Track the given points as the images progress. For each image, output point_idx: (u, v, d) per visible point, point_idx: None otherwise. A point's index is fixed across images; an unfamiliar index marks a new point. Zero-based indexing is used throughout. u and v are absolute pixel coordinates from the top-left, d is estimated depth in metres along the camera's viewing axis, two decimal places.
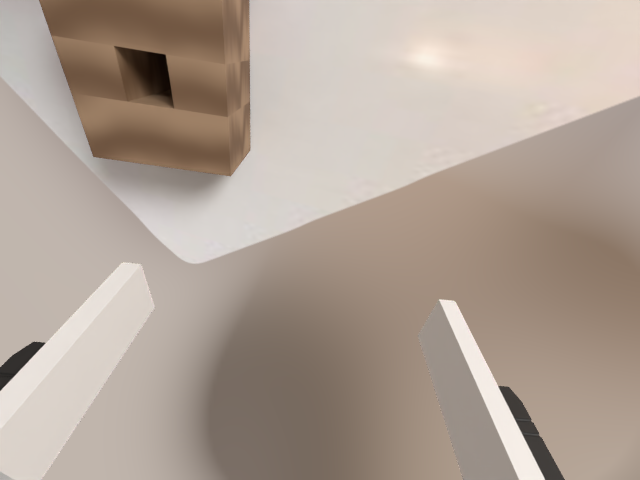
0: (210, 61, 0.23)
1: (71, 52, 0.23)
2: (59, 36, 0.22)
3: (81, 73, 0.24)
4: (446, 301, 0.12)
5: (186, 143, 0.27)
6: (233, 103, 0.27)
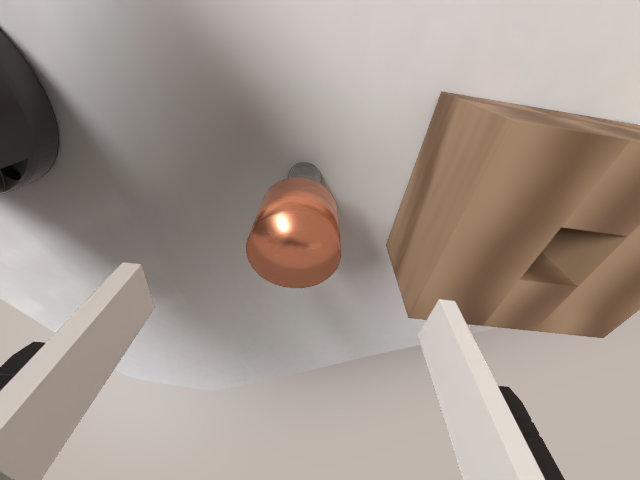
0: (610, 164, 0.13)
1: (503, 316, 0.20)
2: (486, 320, 0.20)
3: (524, 316, 0.20)
4: (446, 301, 0.12)
5: None
6: None
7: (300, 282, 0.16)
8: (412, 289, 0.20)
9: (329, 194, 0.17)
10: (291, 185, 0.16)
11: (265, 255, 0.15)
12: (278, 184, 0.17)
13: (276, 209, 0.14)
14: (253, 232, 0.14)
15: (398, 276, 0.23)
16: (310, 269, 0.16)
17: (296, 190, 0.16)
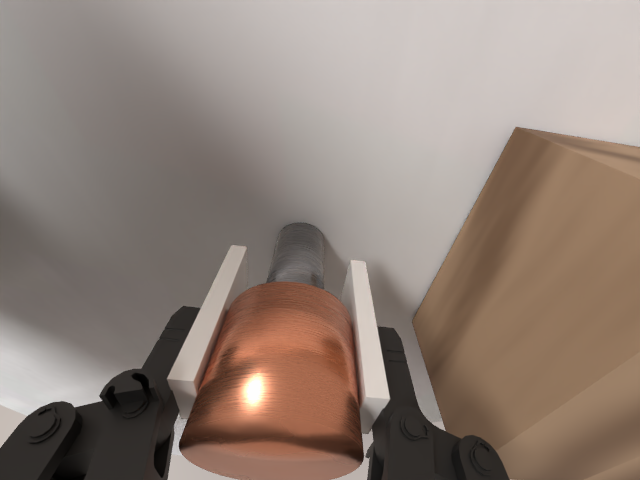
0: None
1: (610, 478, 0.13)
2: None
3: None
4: (357, 261, 0.13)
5: None
6: None
7: None
8: (466, 432, 0.13)
9: (339, 308, 0.10)
10: (272, 305, 0.09)
11: (217, 457, 0.08)
12: (251, 294, 0.10)
13: (235, 391, 0.07)
14: (189, 436, 0.07)
15: (435, 386, 0.16)
16: (305, 470, 0.08)
17: (280, 322, 0.08)
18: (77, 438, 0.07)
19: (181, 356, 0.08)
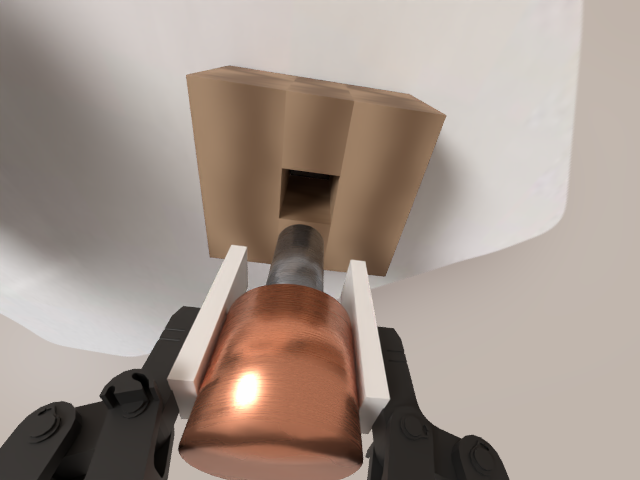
0: (284, 112, 0.17)
1: None
2: None
3: None
4: (357, 261, 0.13)
5: (384, 172, 0.19)
6: (339, 94, 0.18)
7: None
8: None
9: (339, 310, 0.10)
10: (272, 307, 0.09)
11: (217, 459, 0.08)
12: (251, 296, 0.10)
13: (234, 394, 0.07)
14: (188, 439, 0.07)
15: None
16: (304, 473, 0.08)
17: (279, 325, 0.08)
18: (77, 438, 0.07)
19: (181, 356, 0.08)
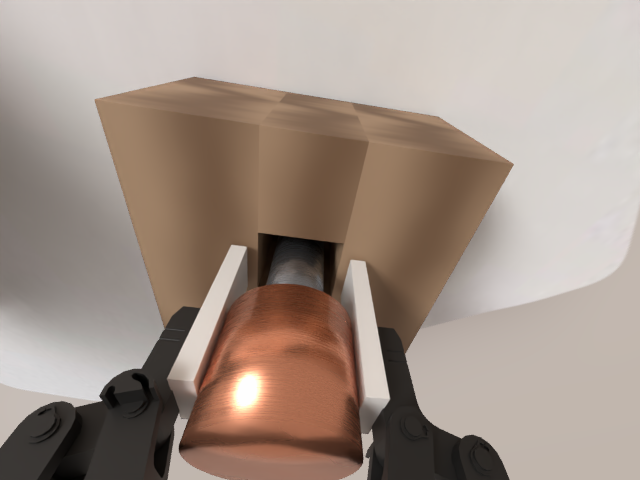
0: (257, 156, 0.11)
1: None
2: None
3: None
4: (356, 261, 0.13)
5: (410, 240, 0.13)
6: (345, 125, 0.12)
7: None
8: None
9: (339, 310, 0.10)
10: (272, 307, 0.09)
11: (217, 459, 0.08)
12: (251, 296, 0.10)
13: (234, 394, 0.07)
14: (189, 438, 0.07)
15: None
16: (304, 473, 0.08)
17: (279, 325, 0.08)
18: (77, 438, 0.07)
19: (181, 356, 0.08)
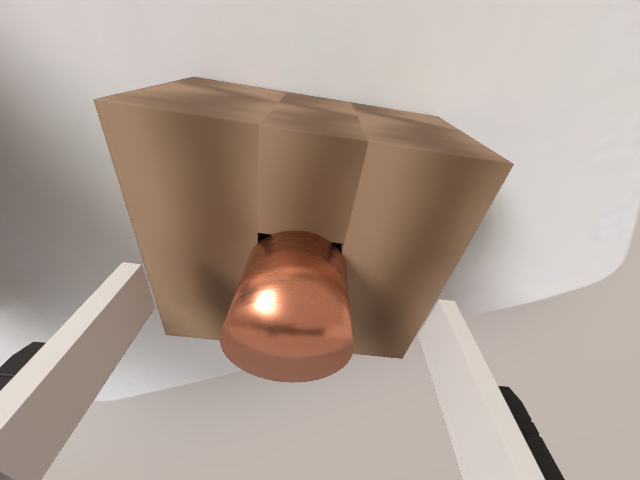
0: (257, 156, 0.11)
1: None
2: None
3: None
4: (446, 301, 0.12)
5: (410, 240, 0.13)
6: (344, 125, 0.12)
7: (297, 377, 0.12)
8: None
9: (336, 252, 0.13)
10: (285, 244, 0.12)
11: (246, 349, 0.11)
12: (268, 239, 0.13)
13: (261, 292, 0.10)
14: (229, 324, 0.10)
15: None
16: (310, 364, 0.11)
17: (291, 254, 0.11)
18: None
19: None
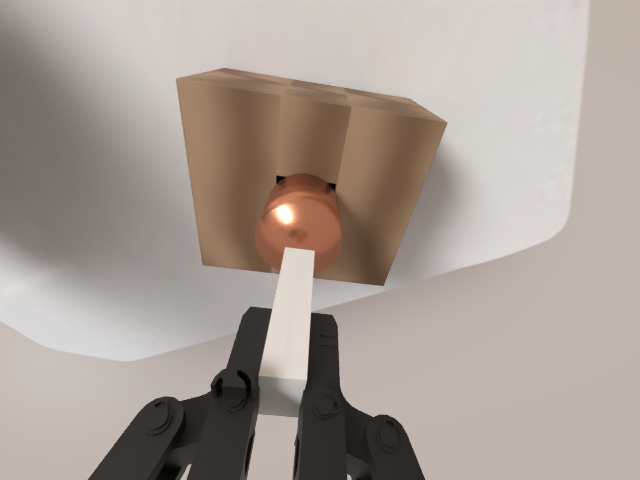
0: (278, 117, 0.16)
1: None
2: (271, 267, 0.23)
3: None
4: (306, 250, 0.14)
5: (383, 180, 0.19)
6: (336, 99, 0.18)
7: None
8: None
9: (331, 189, 0.19)
10: (296, 180, 0.17)
11: (272, 244, 0.16)
12: (284, 179, 0.18)
13: (283, 201, 0.15)
14: (262, 222, 0.15)
15: None
16: (314, 257, 0.17)
17: (301, 184, 0.17)
18: (185, 431, 0.07)
19: (266, 354, 0.09)
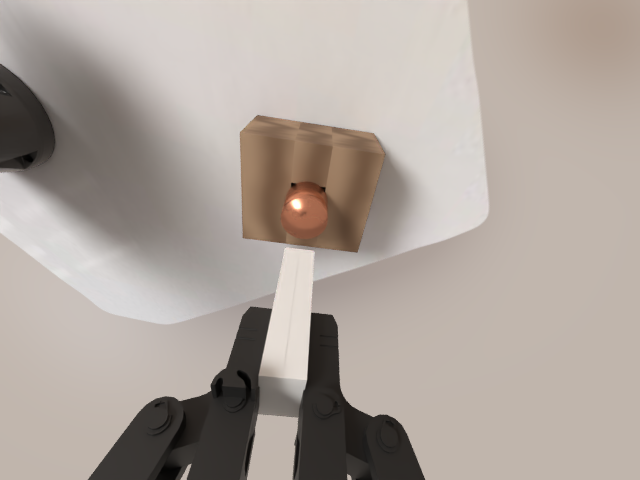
0: (293, 151, 0.30)
1: (293, 237, 0.37)
2: (286, 239, 0.37)
3: None
4: (306, 250, 0.14)
5: (352, 185, 0.32)
6: (325, 140, 0.31)
7: (307, 236, 0.31)
8: None
9: (322, 190, 0.32)
10: (302, 185, 0.31)
11: (289, 220, 0.30)
12: (295, 185, 0.32)
13: (296, 197, 0.29)
14: (285, 208, 0.29)
15: None
16: (312, 228, 0.31)
17: (305, 188, 0.31)
18: (185, 431, 0.07)
19: (266, 354, 0.09)
